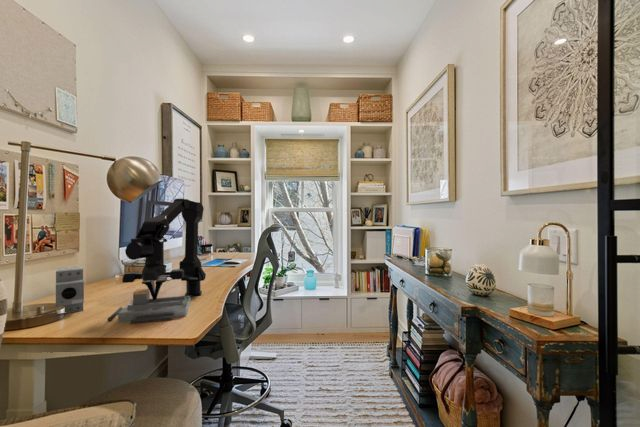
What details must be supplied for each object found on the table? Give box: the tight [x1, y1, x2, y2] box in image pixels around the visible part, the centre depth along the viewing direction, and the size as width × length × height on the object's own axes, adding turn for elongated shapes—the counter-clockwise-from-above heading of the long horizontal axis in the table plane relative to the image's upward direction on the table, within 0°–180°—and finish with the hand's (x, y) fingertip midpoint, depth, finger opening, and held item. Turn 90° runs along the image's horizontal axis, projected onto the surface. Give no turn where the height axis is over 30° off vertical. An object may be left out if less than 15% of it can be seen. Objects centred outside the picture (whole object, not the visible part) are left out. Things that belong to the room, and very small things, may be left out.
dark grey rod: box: [107, 306, 124, 322], centre depth 107 cm, size 12×1×1 cm, turn 18°
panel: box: [117, 295, 191, 323], centre depth 110 cm, size 16×20×4 cm
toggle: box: [132, 288, 151, 305], centre depth 109 cm, size 5×4×5 cm
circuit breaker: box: [55, 266, 85, 314], centre depth 111 cm, size 8×14×15 cm, turn 39°
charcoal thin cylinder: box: [129, 316, 173, 325], centre depth 100 cm, size 12×1×1 cm, turn 108°
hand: (154, 299), depth 110 cm, fingers closed
